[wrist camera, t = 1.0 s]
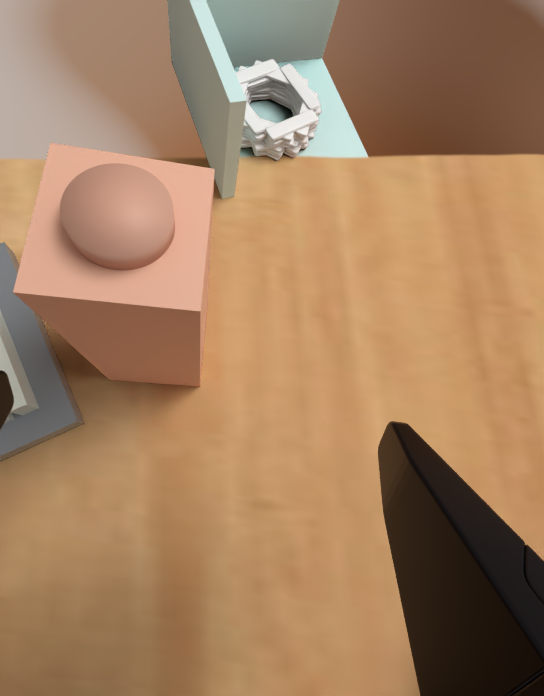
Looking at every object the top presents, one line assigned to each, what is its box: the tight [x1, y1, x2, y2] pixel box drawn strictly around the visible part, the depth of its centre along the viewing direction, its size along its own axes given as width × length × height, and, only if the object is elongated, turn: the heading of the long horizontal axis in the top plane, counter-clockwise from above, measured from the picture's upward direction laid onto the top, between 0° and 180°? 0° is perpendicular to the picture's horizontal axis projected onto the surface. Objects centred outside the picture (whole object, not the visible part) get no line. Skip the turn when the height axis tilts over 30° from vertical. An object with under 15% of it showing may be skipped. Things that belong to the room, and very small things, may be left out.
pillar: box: [13, 143, 215, 387], centre depth 17 cm, size 5×5×13 cm
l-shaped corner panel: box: [167, 0, 368, 199], centre depth 26 cm, size 12×12×8 cm
